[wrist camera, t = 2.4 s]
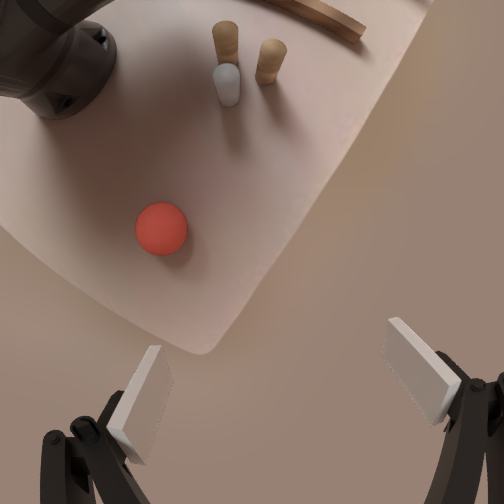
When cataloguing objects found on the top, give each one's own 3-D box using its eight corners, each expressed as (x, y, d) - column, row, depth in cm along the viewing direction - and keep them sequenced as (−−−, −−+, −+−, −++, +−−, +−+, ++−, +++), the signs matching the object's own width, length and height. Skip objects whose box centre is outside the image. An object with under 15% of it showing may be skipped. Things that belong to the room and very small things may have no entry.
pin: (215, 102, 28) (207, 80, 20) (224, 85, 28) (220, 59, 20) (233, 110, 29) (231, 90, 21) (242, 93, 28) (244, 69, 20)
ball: (138, 234, 33) (120, 248, 27) (155, 191, 31) (138, 196, 25) (180, 254, 34) (169, 272, 28) (199, 211, 32) (190, 221, 26)
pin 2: (251, 80, 28) (256, 52, 20) (260, 65, 27) (267, 35, 19) (269, 88, 28) (280, 63, 20) (278, 73, 28) (291, 45, 19)
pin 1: (214, 65, 27) (207, 35, 19) (224, 50, 26) (220, 17, 18) (232, 71, 27) (230, 42, 19) (241, 57, 27) (242, 25, 19)
